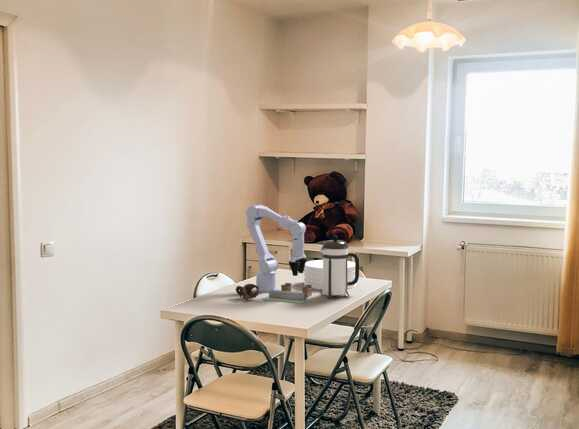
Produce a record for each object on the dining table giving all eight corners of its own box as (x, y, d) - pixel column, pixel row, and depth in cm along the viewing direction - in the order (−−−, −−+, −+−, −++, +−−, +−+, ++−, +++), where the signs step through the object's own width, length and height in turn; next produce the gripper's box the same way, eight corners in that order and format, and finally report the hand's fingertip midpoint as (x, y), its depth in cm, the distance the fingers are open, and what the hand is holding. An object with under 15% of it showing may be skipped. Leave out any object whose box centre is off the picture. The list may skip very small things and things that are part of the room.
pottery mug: (260, 297, 306) (262, 284, 301) (254, 310, 298) (256, 297, 294) (237, 290, 308) (239, 277, 303) (230, 302, 300) (232, 289, 295)
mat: (262, 299, 299) (262, 298, 299) (269, 296, 307) (269, 295, 306) (301, 303, 292) (301, 302, 291) (307, 299, 299) (307, 298, 299)
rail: (271, 296, 303) (268, 297, 300) (271, 289, 303) (268, 291, 300) (306, 299, 297) (303, 301, 294) (306, 292, 296) (303, 294, 293)
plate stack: (358, 290, 321) (359, 268, 320) (304, 290, 322) (304, 268, 321) (354, 280, 349) (354, 259, 348) (304, 279, 350) (304, 259, 349)
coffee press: (343, 301, 296) (344, 238, 294) (314, 297, 305) (314, 235, 302) (359, 294, 311) (360, 234, 308) (330, 290, 320) (331, 232, 317)
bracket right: (301, 296, 306) (301, 286, 305) (306, 294, 311) (306, 284, 310) (307, 297, 304) (307, 287, 304) (311, 294, 310) (311, 284, 309)
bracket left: (281, 294, 310) (281, 284, 309) (285, 292, 315) (285, 282, 315) (286, 295, 309) (286, 285, 308) (291, 293, 314) (291, 283, 313)
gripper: (300, 249, 301) (300, 277, 302) (310, 245, 315) (310, 272, 316) (286, 248, 304) (286, 276, 305) (297, 245, 317) (297, 271, 319)
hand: (298, 274), depth 311 cm, fingers open, 7 cm apart
